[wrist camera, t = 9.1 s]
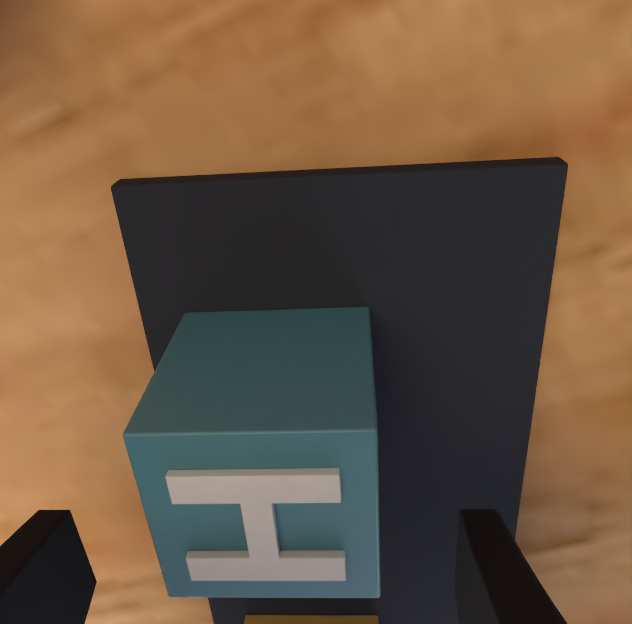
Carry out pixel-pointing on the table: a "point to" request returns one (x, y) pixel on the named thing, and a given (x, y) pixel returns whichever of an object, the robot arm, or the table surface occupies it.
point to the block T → (311, 619)
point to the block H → (263, 455)
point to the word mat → (380, 327)
